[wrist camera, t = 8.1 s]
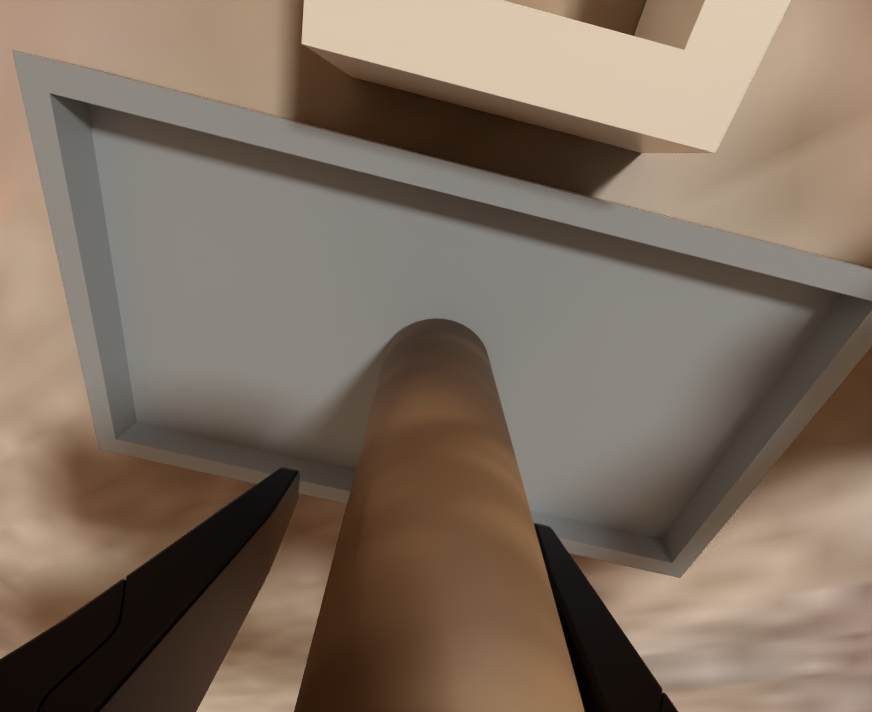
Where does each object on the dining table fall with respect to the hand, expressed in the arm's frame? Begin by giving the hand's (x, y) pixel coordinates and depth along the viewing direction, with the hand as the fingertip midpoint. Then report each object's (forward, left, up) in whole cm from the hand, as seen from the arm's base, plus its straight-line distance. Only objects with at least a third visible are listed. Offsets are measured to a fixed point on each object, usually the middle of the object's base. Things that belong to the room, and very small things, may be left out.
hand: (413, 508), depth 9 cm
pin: (0, 0, -7) cm, 7 cm away
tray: (0, 0, -8) cm, 8 cm away
